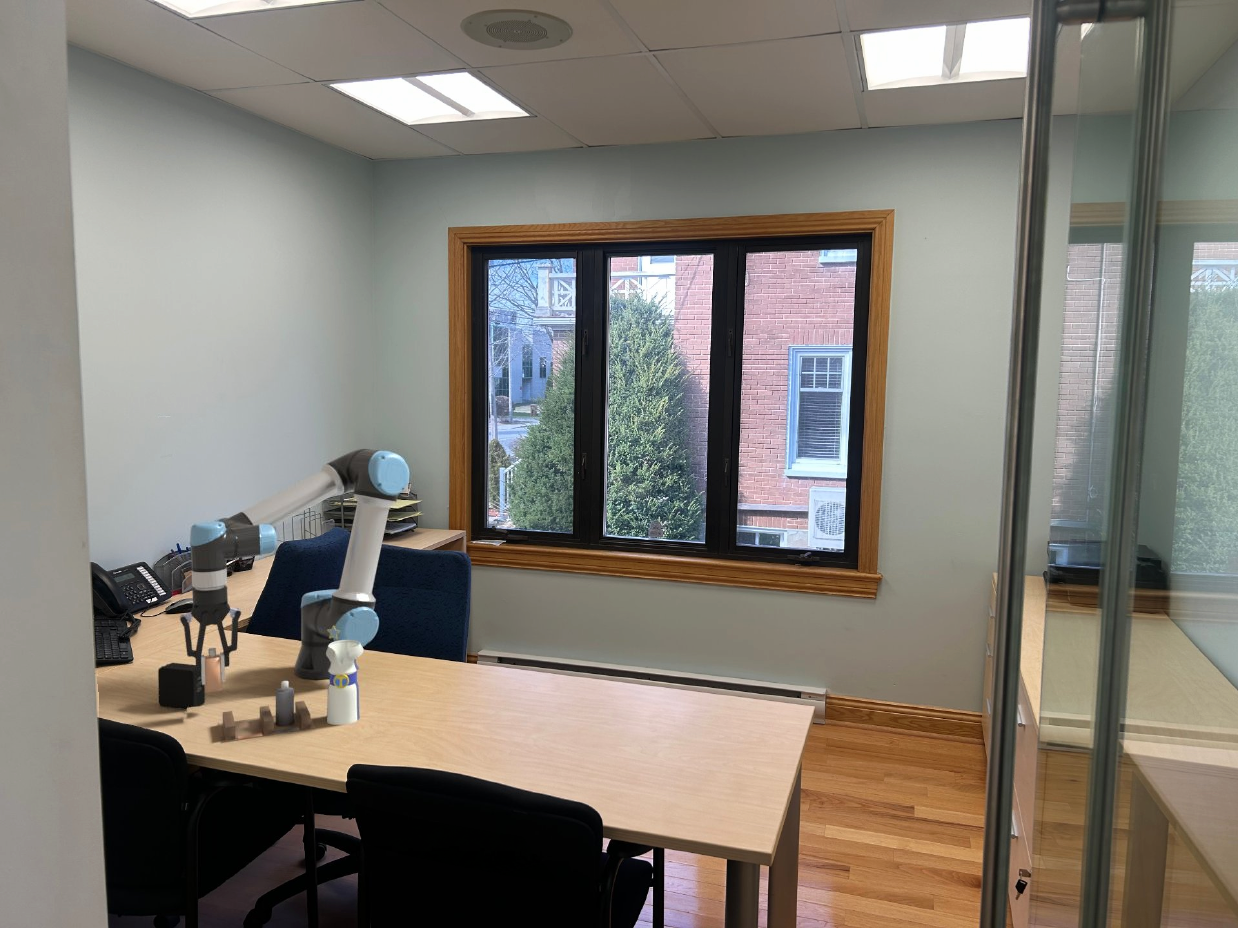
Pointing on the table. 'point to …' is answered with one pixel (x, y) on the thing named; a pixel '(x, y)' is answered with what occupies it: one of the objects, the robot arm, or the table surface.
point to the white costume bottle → (343, 680)
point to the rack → (263, 724)
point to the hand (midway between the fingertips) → (213, 680)
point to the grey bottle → (284, 705)
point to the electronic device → (180, 686)
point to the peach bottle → (213, 671)
